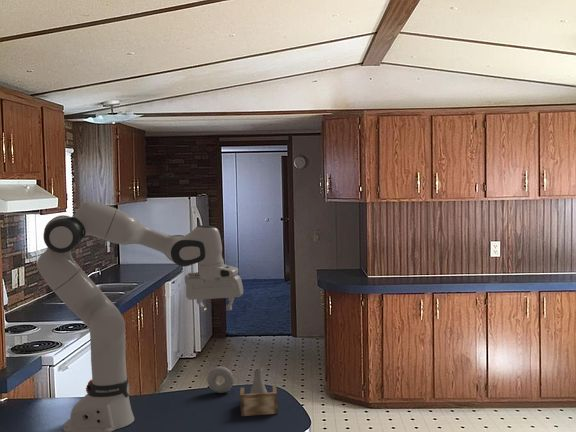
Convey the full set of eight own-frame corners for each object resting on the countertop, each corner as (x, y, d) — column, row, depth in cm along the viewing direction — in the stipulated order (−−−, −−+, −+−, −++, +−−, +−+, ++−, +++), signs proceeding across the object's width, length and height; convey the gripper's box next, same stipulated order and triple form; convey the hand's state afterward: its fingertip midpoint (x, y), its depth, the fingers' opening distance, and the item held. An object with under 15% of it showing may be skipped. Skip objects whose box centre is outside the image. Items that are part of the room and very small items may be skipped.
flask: (266, 400, 223) (264, 372, 223) (246, 400, 225) (245, 372, 224) (270, 393, 230) (269, 366, 230) (251, 393, 232) (250, 366, 231)
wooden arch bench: (240, 416, 209) (239, 395, 209) (241, 404, 220) (240, 384, 220) (278, 413, 210) (277, 393, 209) (276, 402, 221) (275, 382, 220)
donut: (207, 394, 232) (205, 368, 232) (208, 391, 236) (207, 365, 235) (233, 394, 232) (232, 367, 231) (235, 391, 235) (233, 364, 234)
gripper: (180, 275, 216) (185, 314, 217) (236, 271, 211) (241, 311, 212) (187, 271, 222) (192, 309, 223) (242, 268, 217) (246, 307, 218)
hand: (216, 310), depth 217 cm, fingers open, 8 cm apart
